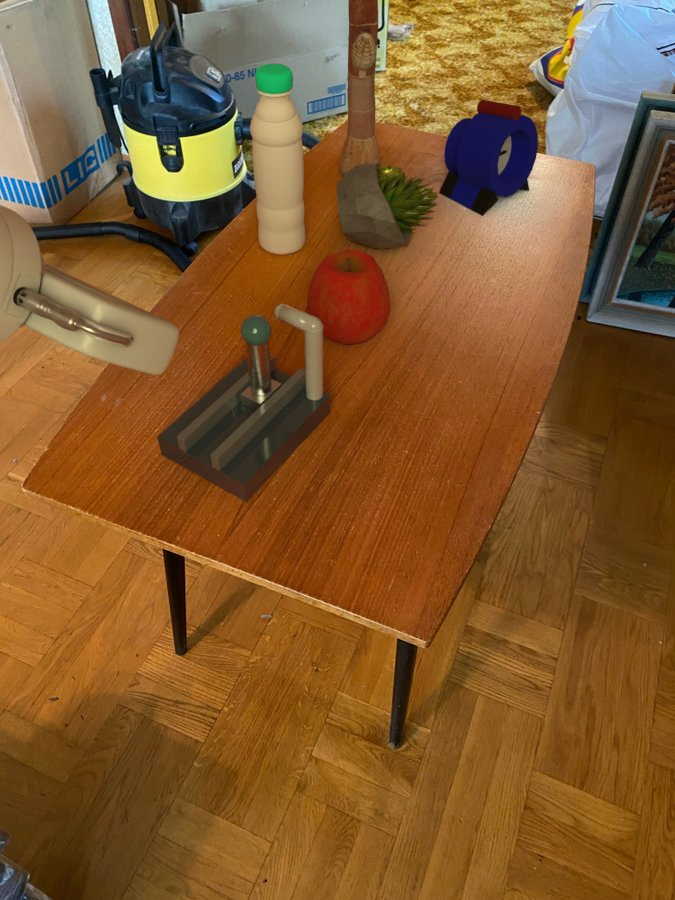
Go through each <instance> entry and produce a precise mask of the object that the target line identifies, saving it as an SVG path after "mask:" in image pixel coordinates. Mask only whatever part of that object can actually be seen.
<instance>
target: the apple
mask: <svg viewBox="0 0 675 900" xmlns="http://www.w3.org/2000/svg"><path fill="white" fill-rule="evenodd" d="M314 271H315V272H314V274H313V276H312V277H311V280H310V282H309V285H308V289H307V290H308V291H307V298H306V308H307V312H308V313H307V314H310V315H312V316H314V317H317V318H319V319H320V321H321V322H322V324H323V337H324V338H326V339H328V340H330V341H332V342H334V343H336V344H337V343H338V344H342V345H343V344H344V345H349V346H353V345H357V344H362V343H365V342H368V341H369V340H371V339H372V338H374V337H375V336H377V334H379V332H380V331H381V330H382V329H383V328H384V327H385V326H386V324H387V322H388V319H389V316H390V313H391V312H390V311H391V298H390V291H389V285H388V283H387V280H386V277H385V275H384V272H383V270H382V268H381V267H380V265H379V264H378V262H377V261H376V259H375V257H374V256H372V255H370V254H368V253H367V252H364V251H361V250H360V249H359V250H358V249H345V250H340V251H337V252H334V253H331V254H328V255H326V257H324V259H323V260H322V261H321V262H320V263H319V264H318V266H317V267H316V268H315V270H314Z"/></svg>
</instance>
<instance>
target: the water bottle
mask: <svg viewBox="0 0 675 900" xmlns="http://www.w3.org/2000/svg"><path fill="white" fill-rule="evenodd" d="M293 75H294V74H293V71H292V69H291V68H290V67H289V66H287V65H284V64H280V63H267V64H263V65H260V66H259V67H257V69H256V71H255V75H254V79H255V87H256V90H257V91H256V92H257V93H258V94H259V100H258V102H257V104H256V106H255V111H254V113H253V115H252V118H251V120H250V124H249V132H250V136H251V137H252V143H251V146H252V150H251V151H252V152H251V153H252V170H253V181H254V190H255V197H256V218H257V221H258V223H257V225H258V226H257V236H258V238H257V239H258V244H259V246H260V247H261V248H262V249H263V250H264V251H266V252H268V253H270V254H273V255H278V256H282V255H284V256H285V255H290V254H294V253H296V252H299V250H301V249H302V248H303V247H304V245H305V243H306V225H305V214H306V211H305V209H306V207H305V201H304V191H305V190H304V187H305V165H304V163H305V162H304V148H303V147H304V146H303V138H302V137H303V133H304V125H303V121H302V119H301V116H300V114H299V112H298V111H297V108H296V104H295V103H294V102H293V101H292V99H291V94H292V92H293V86H294V76H293Z"/></svg>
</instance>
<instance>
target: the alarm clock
mask: <svg viewBox="0 0 675 900" xmlns="http://www.w3.org/2000/svg"><path fill="white" fill-rule="evenodd" d="M476 111H477V113H476V114H475V115H473V117H472V118H470V117H465V118H462V119H461V120H459V121H457V122H456V124H455V125H454V126H453V127H452V128H451V130H450V131H449V133H448V136H447V138H446V142H445V146H444V154H443V156H444V164H445V167H446V169H447V173H446V176H445V178H444V180H443V183H442V185H441V187H440V189H439V192H438V194H440V195H442V196H444V197H446V198H447V199H450V200H451V201H452V202H455V203H457V204H459V205H461V206H463V207H464V208H467V209H468V210H470V211H473V212H475V213H476V214H478V215H480V216H482V217H484V215H486V213H487V212H488V211H490V209H491V208H492V207H493V206H494V205H495V204H496V203H497V202H499V200H500V198H499V197H502V198H507V197H511V196H513V195H515V194H516V193H517V192H519V191H527V192H528V191H530V186H529V185H530V184H529V180H528V179H529V177H530V175H531V173H532V172H533V169H534V166H535V163H536V160H537V155H538V148H539V133H538V129H537V126H536V124H535V122H534V121H533V119H532V118H531V117H529V116H527V115H524V114H522V107H521V106H520V105H515V104H510V103H503V102H497V101H491V100H486V99H480V100H479V101H478V103H477V106H476ZM498 196H499V197H498Z"/></svg>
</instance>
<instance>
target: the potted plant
mask: <svg viewBox="0 0 675 900" xmlns="http://www.w3.org/2000/svg"><path fill="white" fill-rule="evenodd" d="M407 177H408V175H406V173H405V172H404V171H403V169H402V168H401V167H400V166H399V167H397V166H394V165H392V164H389V165H387V166H385V165H381V166H379V163H377V164H368V163H364V164H361V165H357V166H355V167H354V168H352V169H351V170H350V171H349V172H347V173H346V174H345V175H344V176H343V177H342V176H341V179H339V181H338V182H337V183H336V197H337V213H338V218H339V222H340V226H341V230H342V233H343V235H344V237H345V238H346V240H348V241H351V242H353V243H357V244H360V245H363V246H365V247H369V248H371V249H379V250H380V249H382V250H383V249H388V248H389V249H390V248H391V249H392V248H399V247H406V246H409V244H410V240H411V237H412V234H415V231H416V228H414V227H426V226H427V225H425V224H424V222H423V221H426V220H432V219H434V217H430V216H425V215H429V214H431V213H436V212H437V211H436V210H432V208H434V207H437V206H438V205H439V204H438V203H437V202H436V201H437V199H438V198H439V197H438V196H439V195H438V193H437V192H436V191H434V190H435V189H436V188H429V187H430V186H431V185H432V183H425V184H421V183H422V182H423V181H425V180H426V178H424V177H421V176H420V177H418V176H417V175H416V176H414V177H410V178H408V179H407ZM417 177H418V178H417ZM416 178H417V179H416ZM406 179H407V180H406ZM419 184H421V185H419ZM435 200H436V201H435Z"/></svg>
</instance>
